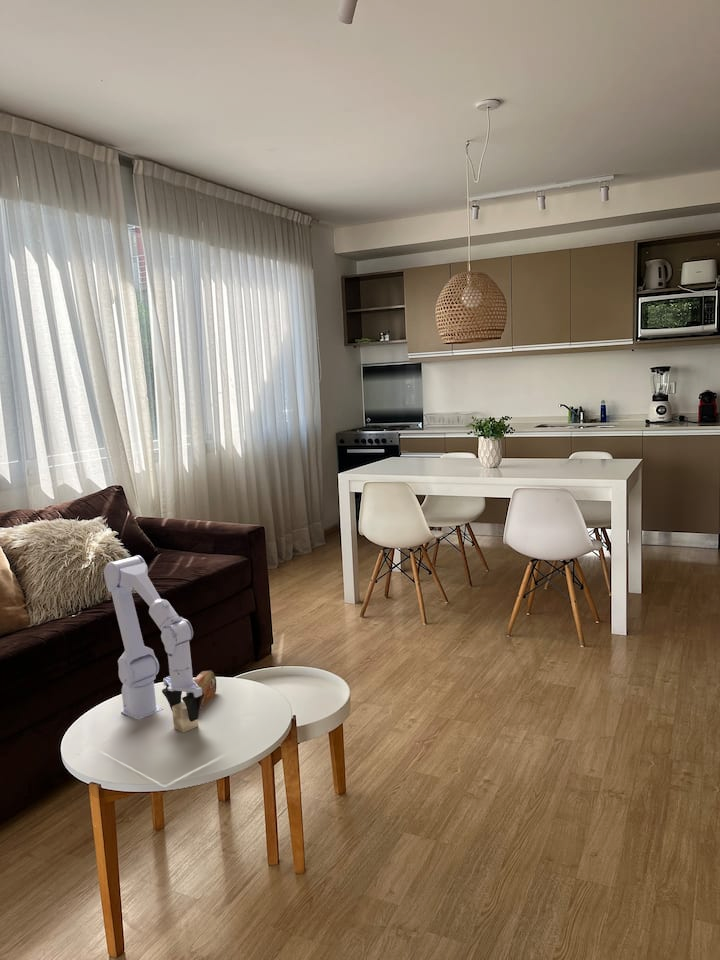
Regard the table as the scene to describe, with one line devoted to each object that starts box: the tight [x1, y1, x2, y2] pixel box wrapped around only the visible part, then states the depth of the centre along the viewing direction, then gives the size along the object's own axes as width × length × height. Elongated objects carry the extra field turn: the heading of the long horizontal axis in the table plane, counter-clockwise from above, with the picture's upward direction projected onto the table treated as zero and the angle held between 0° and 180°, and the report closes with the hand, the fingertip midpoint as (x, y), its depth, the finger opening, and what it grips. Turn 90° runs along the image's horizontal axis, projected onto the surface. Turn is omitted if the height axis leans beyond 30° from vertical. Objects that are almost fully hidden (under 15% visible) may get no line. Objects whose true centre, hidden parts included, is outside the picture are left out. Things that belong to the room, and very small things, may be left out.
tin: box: [185, 670, 217, 712], centre depth 202 cm, size 15×3×8 cm, turn 168°
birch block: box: [171, 700, 199, 733], centre depth 188 cm, size 4×4×6 cm
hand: (185, 716), depth 187 cm, fingers open, 7 cm apart
